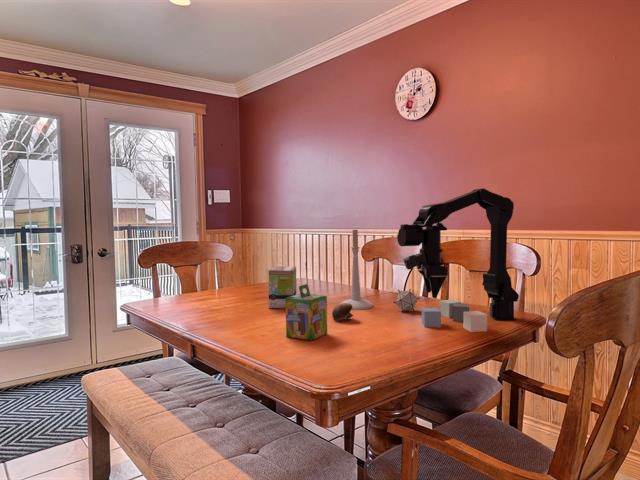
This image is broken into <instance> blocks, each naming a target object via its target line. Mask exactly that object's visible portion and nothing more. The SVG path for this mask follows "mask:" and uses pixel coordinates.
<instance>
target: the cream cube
mask: <svg viewBox="0 0 640 480" xmlns="http://www.w3.org/2000/svg"><path fill="white" fill-rule="evenodd" d="M462 323H463V325H462V326H463V329H465V330H467V331H468V332H470V333H474V332H475V333H476V332H480V333H482V332H488V314H487V313H484V312H482V311H481V310H475V311H474V310H469V311H468V312H463V322H462Z"/></svg>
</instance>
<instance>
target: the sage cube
mask: <svg viewBox="0 0 640 480" xmlns="http://www.w3.org/2000/svg"><path fill="white" fill-rule="evenodd" d="M453 303H461V304H462V302H461V301H459V300H454V299H446V300H440V301H439V310H440V311H441V317H442V316H443V317H445V318H448V319H451V318H452V319H453Z"/></svg>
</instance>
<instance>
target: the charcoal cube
mask: <svg viewBox="0 0 640 480" xmlns="http://www.w3.org/2000/svg"><path fill="white" fill-rule="evenodd" d="M468 311H470V303H462V302H461V303H453V318H452V322H459V323H460V322H461V323H463V312H468Z"/></svg>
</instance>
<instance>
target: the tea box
mask: <svg viewBox="0 0 640 480" xmlns="http://www.w3.org/2000/svg"><path fill="white" fill-rule="evenodd" d="M294 295H297V266H284V265H283V266H280V265H279V266H272V267H271V268H270V269H269V270H268V308H269V309H286V302H285V298H287V297H290V296H294ZM284 307H285V308H284Z"/></svg>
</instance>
